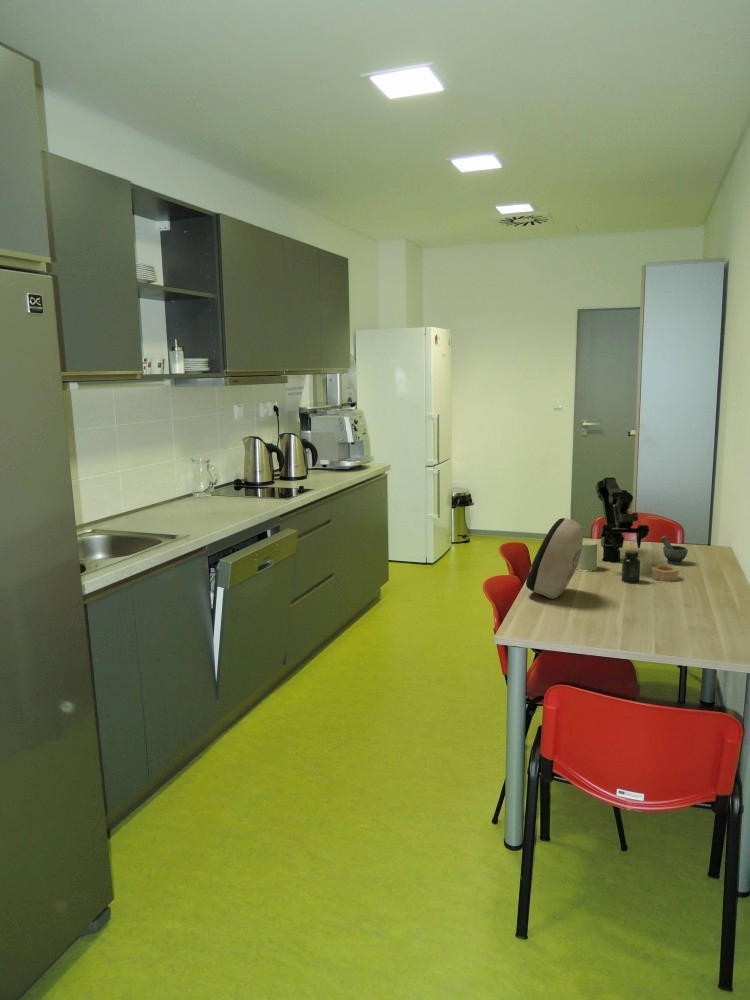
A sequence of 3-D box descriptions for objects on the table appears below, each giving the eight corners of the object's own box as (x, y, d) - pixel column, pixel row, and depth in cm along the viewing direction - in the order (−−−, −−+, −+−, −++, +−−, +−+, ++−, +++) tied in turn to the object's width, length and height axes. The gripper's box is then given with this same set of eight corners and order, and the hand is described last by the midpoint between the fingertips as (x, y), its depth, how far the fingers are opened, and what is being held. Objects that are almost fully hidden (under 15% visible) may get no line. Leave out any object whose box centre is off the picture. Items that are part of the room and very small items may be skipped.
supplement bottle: (619, 578, 294) (620, 550, 292) (636, 579, 294) (638, 550, 292) (623, 583, 288) (625, 554, 286) (641, 583, 287) (642, 554, 285)
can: (573, 570, 308) (574, 543, 306) (576, 565, 317) (576, 538, 315) (595, 572, 305) (596, 544, 303) (597, 566, 313) (598, 540, 311)
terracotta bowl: (648, 579, 293) (649, 569, 293) (655, 573, 301) (656, 564, 300) (673, 582, 287) (674, 573, 287) (680, 577, 295) (681, 567, 294)
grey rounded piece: (535, 584, 288) (537, 510, 283) (586, 590, 279) (588, 514, 275) (521, 599, 269) (522, 520, 264) (575, 606, 260) (577, 524, 255)
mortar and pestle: (687, 562, 319) (689, 535, 317) (685, 566, 311) (687, 539, 309) (660, 559, 324) (661, 533, 322) (657, 564, 316) (659, 537, 314)
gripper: (602, 505, 299) (607, 537, 290) (649, 505, 297) (655, 537, 288) (598, 520, 308) (602, 552, 299) (643, 520, 306) (649, 552, 297)
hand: (627, 548), depth 295 cm, fingers open, 9 cm apart
